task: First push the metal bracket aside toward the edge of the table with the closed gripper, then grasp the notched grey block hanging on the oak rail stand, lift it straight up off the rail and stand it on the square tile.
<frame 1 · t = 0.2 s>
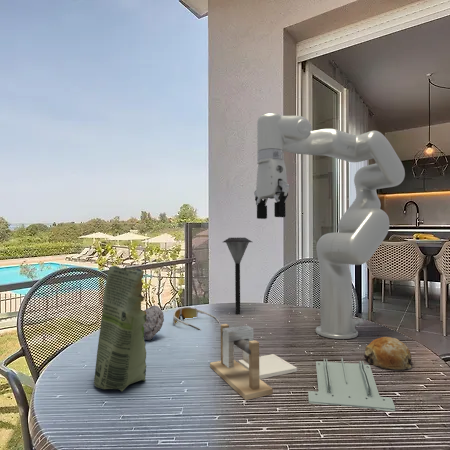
hand: (270, 217, 98), 36 cm above the table, tool pointing down, fingers open, 9 cm apart
bread roll: (387, 364, 83), on the table
metal bracket: (346, 394, 68), on the table
square tile: (266, 367, 81), on the table
notched grey block: (238, 337, 74), point 9 cm above the table, touching rail stand
sunglasses: (195, 325, 121), on the table
pouch: (122, 383, 73), on the table
rail stand: (238, 379, 74), on the table
pumice stone: (147, 339, 103), on the table
solar garden light: (237, 314, 134), on the table
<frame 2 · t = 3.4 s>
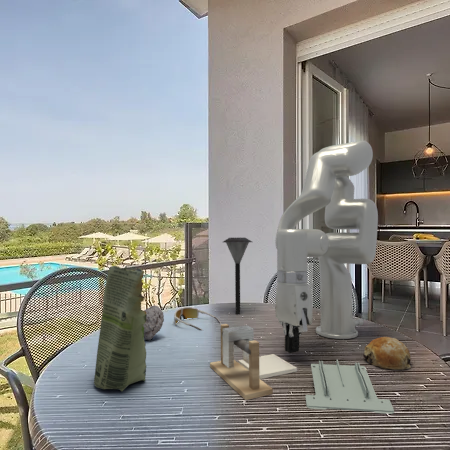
hand: (292, 351, 86), 2 cm above the table, tool pointing down, fingers closed
metal bracket: (343, 397, 67), on the table
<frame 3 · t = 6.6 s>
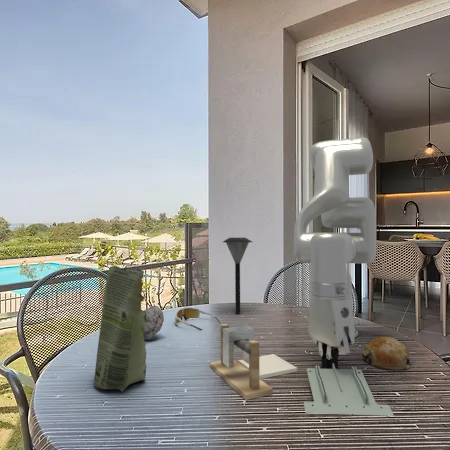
hand: (329, 375, 74), 1 cm above the table, tool pointing down, fingers closed
metal bracket: (340, 402, 65), on the table
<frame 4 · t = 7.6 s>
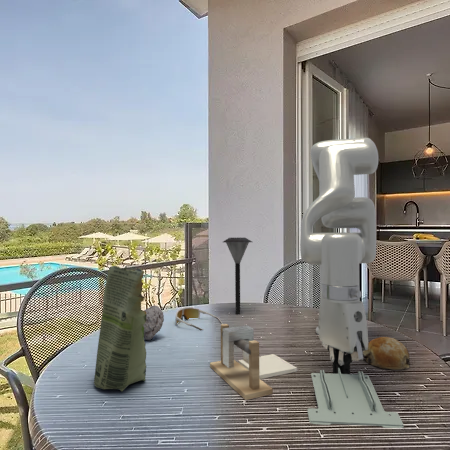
hand: (341, 381, 71), 1 cm above the table, tool pointing down, fingers closed
metal bracket: (346, 409, 62), on the table, touching gripper
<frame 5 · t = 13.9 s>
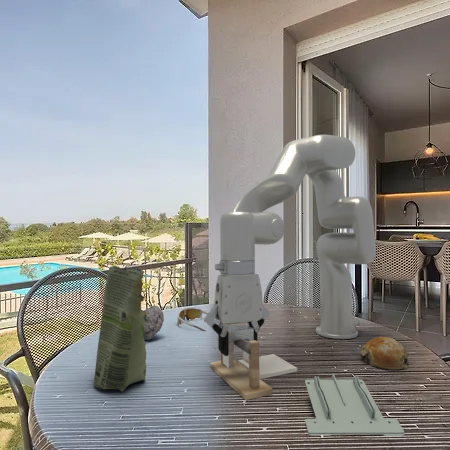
hand: (238, 350, 74), 6 cm above the table, tool pointing down, fingers closed on notched grey block, 6 cm apart
metal bracket: (343, 417, 60), on the table
notched grey block: (238, 337, 74), point 9 cm above the table, touching gripper, rail stand
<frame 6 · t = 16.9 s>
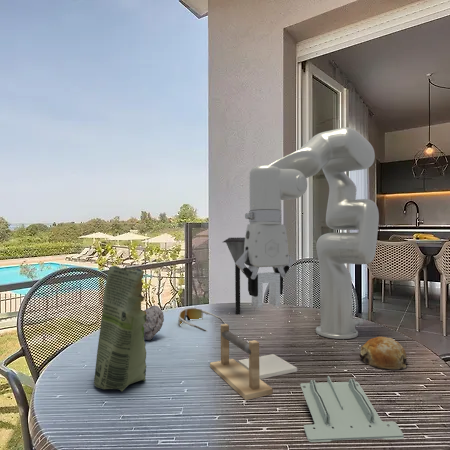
hand: (265, 294, 81), 17 cm above the table, tool pointing down, fingers closed on notched grey block, 6 cm apart
metal bracket: (341, 421, 58), on the table
notched grey block: (265, 281, 81), point 20 cm above the table, touching gripper
when the fingers open (5 cm above the table, at t = 19.8 s): notched grey block drops 1 cm, resting on square tile.
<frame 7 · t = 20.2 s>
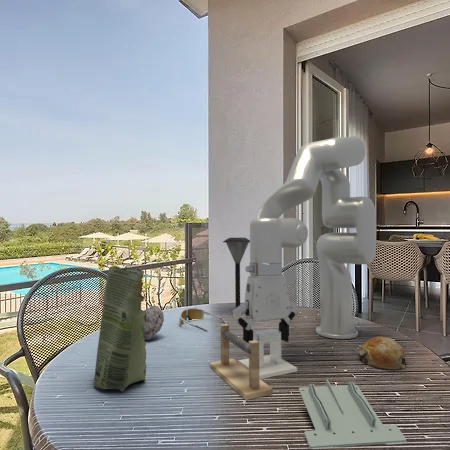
hand: (266, 343, 81), 6 cm above the table, tool pointing down, fingers open, 9 cm apart
metal bracket: (341, 426, 57), on the table
notched grey block: (266, 340, 81), point 6 cm above the table, touching square tile
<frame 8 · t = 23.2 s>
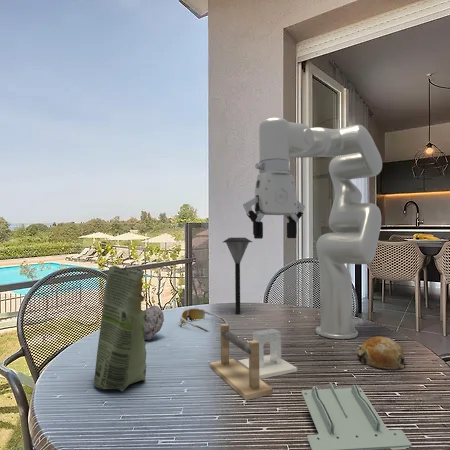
hand: (275, 238, 85), 30 cm above the table, tool pointing down, fingers open, 9 cm apart
metal bracket: (345, 430, 56), on the table
at the end: notched grey block inside the target area on the square tile (0.1 cm from its centre), point 6.3 cm above the square tile's base; notched grey block touching square tile; metal bracket inside the target area (11.3 cm from its centre), on the table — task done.
